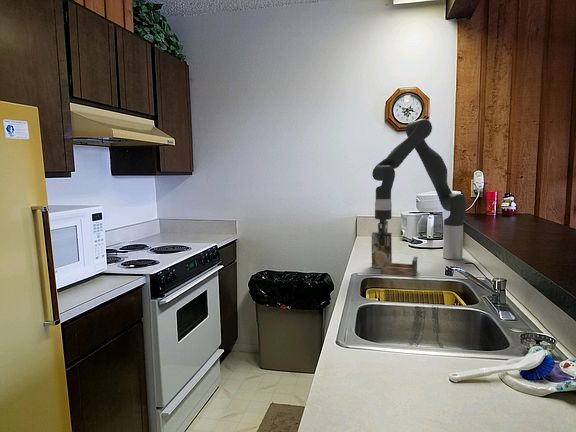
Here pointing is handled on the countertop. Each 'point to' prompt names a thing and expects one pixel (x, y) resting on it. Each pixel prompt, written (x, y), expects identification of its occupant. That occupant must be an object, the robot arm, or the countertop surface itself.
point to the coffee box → (381, 250)
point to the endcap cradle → (400, 268)
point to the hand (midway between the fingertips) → (382, 244)
